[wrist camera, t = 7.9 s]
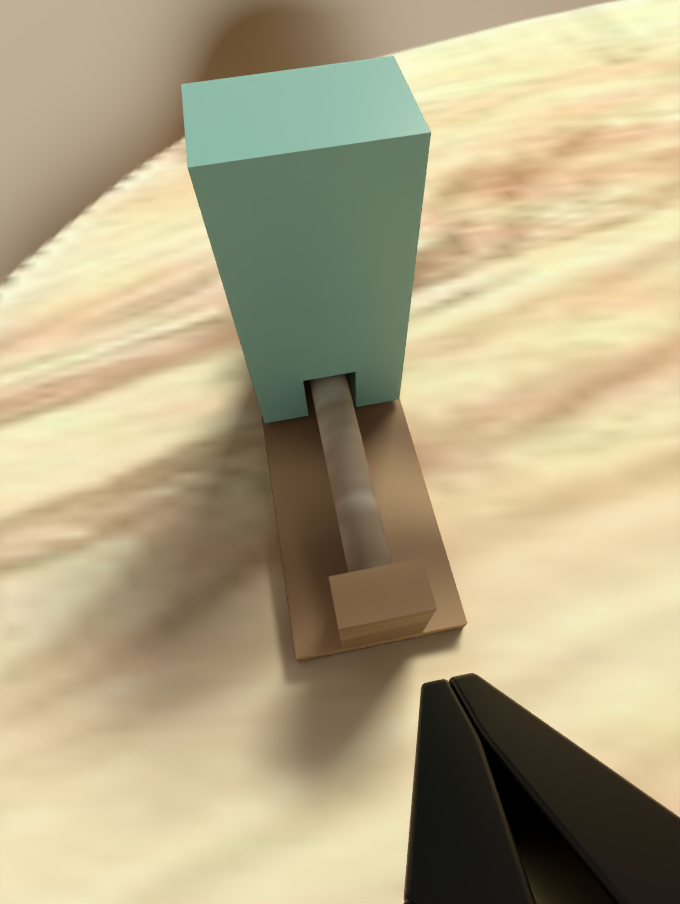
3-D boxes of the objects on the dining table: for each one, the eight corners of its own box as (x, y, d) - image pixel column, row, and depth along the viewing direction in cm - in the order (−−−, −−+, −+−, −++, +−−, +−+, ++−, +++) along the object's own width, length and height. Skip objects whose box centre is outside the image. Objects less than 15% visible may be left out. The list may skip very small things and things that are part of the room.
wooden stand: (463, 627, 20) (491, 597, 16) (298, 661, 19) (281, 641, 15) (364, 293, 28) (365, 216, 24) (248, 312, 28) (229, 237, 24)
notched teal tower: (399, 399, 24) (431, 132, 13) (264, 423, 23) (187, 167, 13) (379, 334, 25) (393, 56, 15) (255, 355, 25) (181, 84, 15)
